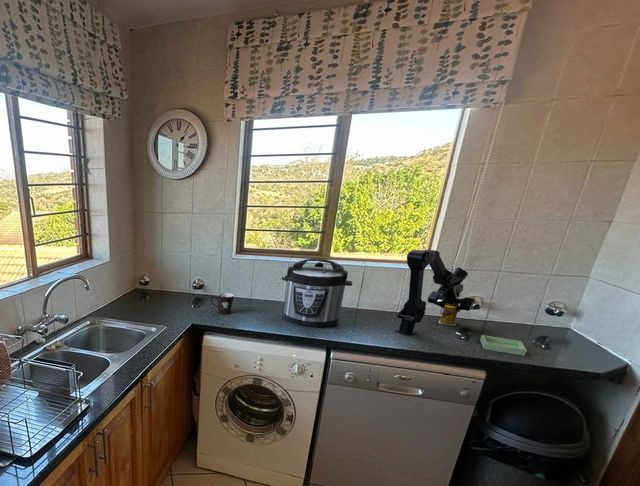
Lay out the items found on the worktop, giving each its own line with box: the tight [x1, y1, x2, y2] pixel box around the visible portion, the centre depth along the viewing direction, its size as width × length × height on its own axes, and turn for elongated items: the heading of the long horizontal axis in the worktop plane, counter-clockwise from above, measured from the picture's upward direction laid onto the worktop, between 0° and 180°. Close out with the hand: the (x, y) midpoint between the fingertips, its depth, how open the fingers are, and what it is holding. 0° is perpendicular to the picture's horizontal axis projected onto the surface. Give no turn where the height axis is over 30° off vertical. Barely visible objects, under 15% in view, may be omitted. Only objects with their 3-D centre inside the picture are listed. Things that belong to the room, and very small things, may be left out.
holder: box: [479, 334, 528, 357], centre depth 174 cm, size 14×13×3 cm
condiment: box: [438, 303, 459, 327], centre depth 205 cm, size 7×8×12 cm
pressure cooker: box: [281, 258, 353, 328], centre depth 203 cm, size 30×28×32 cm
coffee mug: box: [209, 292, 235, 315], centre depth 219 cm, size 12×9×10 cm
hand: (452, 310), depth 205 cm, fingers closed on condiment, 6 cm apart
